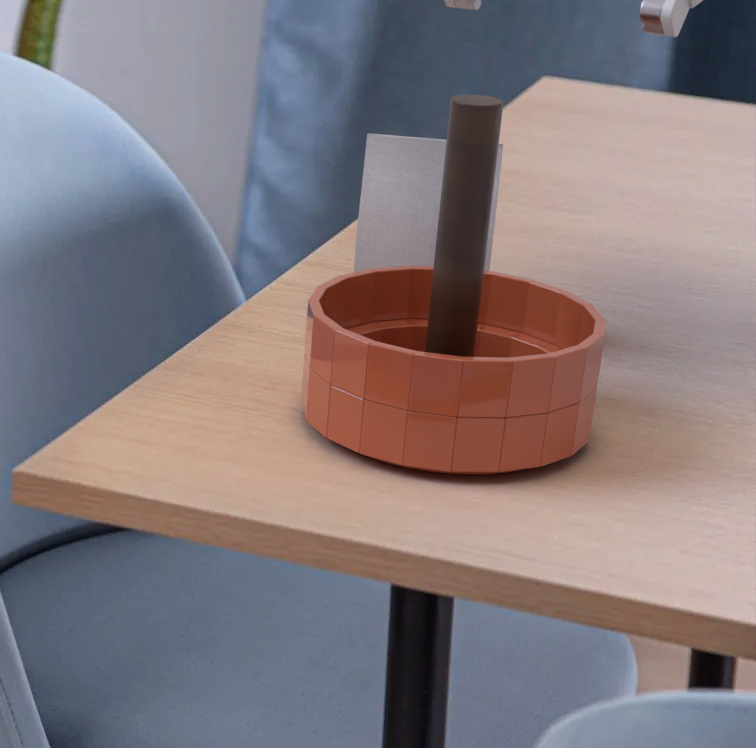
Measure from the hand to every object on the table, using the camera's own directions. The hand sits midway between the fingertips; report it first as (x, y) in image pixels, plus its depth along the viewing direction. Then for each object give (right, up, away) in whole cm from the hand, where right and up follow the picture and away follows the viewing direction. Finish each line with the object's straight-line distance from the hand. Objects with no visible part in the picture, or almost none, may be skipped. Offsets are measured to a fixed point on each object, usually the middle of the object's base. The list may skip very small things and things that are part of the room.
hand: (554, 13), depth 78 cm
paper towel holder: (-5, -18, +2) cm, 18 cm away
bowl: (-5, -18, +2) cm, 19 cm away
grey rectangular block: (-5, -13, +14) cm, 19 cm away
